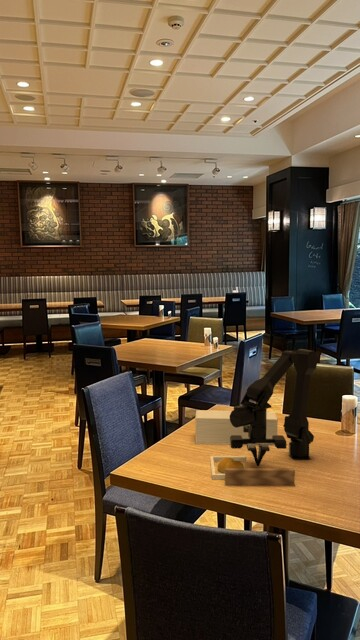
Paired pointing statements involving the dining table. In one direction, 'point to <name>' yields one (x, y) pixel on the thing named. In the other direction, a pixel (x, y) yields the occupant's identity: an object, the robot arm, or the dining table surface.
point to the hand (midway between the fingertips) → (257, 465)
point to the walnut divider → (260, 476)
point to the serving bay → (219, 458)
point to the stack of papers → (226, 427)
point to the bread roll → (229, 464)
